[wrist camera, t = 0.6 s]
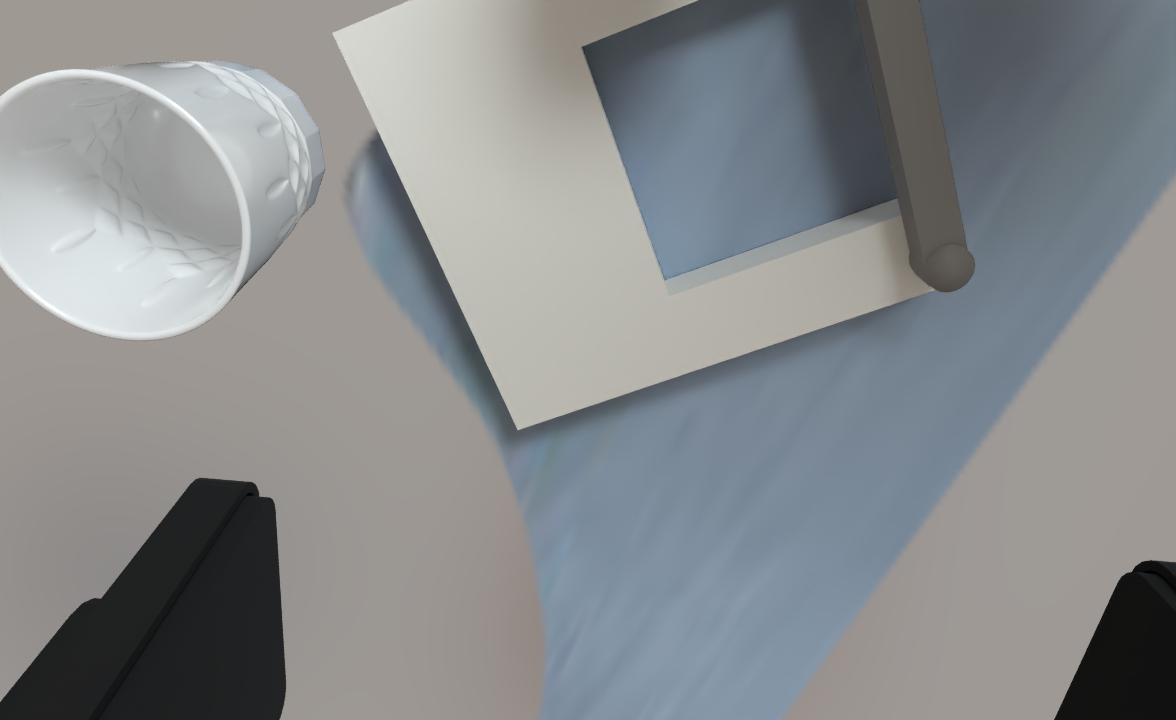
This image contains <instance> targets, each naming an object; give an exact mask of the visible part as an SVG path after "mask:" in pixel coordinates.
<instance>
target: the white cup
mask: <svg viewBox="0 0 1176 720" xmlns="http://www.w3.org/2000/svg"><path fill="white" fill-rule="evenodd" d="M324 171H325V163H324V158H323V151H322V144H321V138H320V132H319V128H318V127H317V125H316V124H315V122H314V121H313V119H312V117H311V116H310V114H309V113H308V111H307V110H306V108H305V106H304V105H303V103H302V102H301V100H300V98H299V97H298V95H297V94H296V93H295V92H293V91H292V90H290V89H289V88H288V87H286V86H285V85H283V84H282V83H280V82H279V81H278V80H276V79H275V78H274V77H272V76H270V75H269V74H268V73H266V72H265V71H264V70H262V69H260V68H255V67H250V66H245V65H240V64H235V63H230V62H225V61H210V62H196V61H195V62H194V61H175V62H153V63H152V62H151V63H139V64H128V65H118V66H106V67H94V68H83V69H69V70H59V71H53V72H48V73H44V74H41V75H38V76H34V77H32V78H29V79H27V80H25V81H23V82H21V83H19V84H17V85H15V86H14V87H12V88H11V89H9V90H8V91H6V92H5V93H4V94H3V95H1V96H0V267H1V269H2V270H3V271H4V272H5V274H6V275H7V276H8V277H9V278H10V279H11V281H12V282H14V284H15V285H16V286H17V287H18V288H19V289H20V290H21V291H22V292H24V293H25V294H26V295H27V296H28V297H29V298H30V299H32V300H33V301H34V302H35V303H37V304H38V305H39V306H41V307H42V308H44V309H45V310H47V311H48V312H49V313H51V314H53V315H54V316H56V317H58V318H59V319H61V320H63V321H65V322H67V323H69V324H71V325H73V326H75V327H78V328H80V329H83V330H86V331H88V332H91V333H94V334H98V335H101V336H105V337H109V338H115V339H121V340H130V341H150V340H160V339H166V338H171V337H174V336H178V335H181V334H184V333H186V332H189V331H191V330H194V329H196V328H197V327H199V326H201V325H203V324H204V323H206V322H207V321H209V320H210V319H212V318H213V317H214V316H215V315H216V314H217V313H219V312H220V311H221V310H222V309H223V308H224V307H225V306H226V305H227V303H228V302H229V301H230V300H231V299H232V298H233V297H234V296H235V295H236V294H237V292H239V290H240V289H241V288H242V287H243V286H244V285H245V284H246V283H247V282H248V280H250V278H252V276H253V275H254V274H255V273H256V272H257V271H258V270H259V269H260V268H261V267H262V266H263V265H264V264H265V263H266V262H267V261H268V260H269V259H270V257H271V256H272V255H273V254H274V252H275V251H276V250H277V249H278V247H279V246H280V245H281V244H282V243H283V242H284V240H285V239H286V238H287V237H288V236H289V234H290V233H291V232H292V230H293V229H294V227H295V225H296V224H297V222H298V221H299V219H300V217H301V216H302V215H303V214H304V213H305V212H306V211H307V210H308V209H309V208H310V207H311V206H312V205H313V204H314V202H315V199H316V196H317V193H318V189H319V186H320V184H321V180H322V177H323V174H324Z"/></svg>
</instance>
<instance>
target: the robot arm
mask: <svg viewBox="0 0 1176 720" xmlns="http://www.w3.org/2000/svg"><path fill="white" fill-rule="evenodd" d="M283 643H284V641H283V625H282V609H281V592H280V577H279V559H278V543H277V527H276V511H275V504H274V501H273V499H271V498H268V497H259V491H258V489H257V486H256V485H255V484H254V483H252V482H243V481H232V480H220V479H208V478H199V479H196V480H195V481H193V482H192V483H191V484H190V486H189V487H188V488H187V489H186V491H185V492H184V493H183V495H182V496H181V497H180V498H179V500H178V501H177V502H176V503H175V505H174V506H173V507H172V509H171V510H170V511H169V512H168V514H167V515H166V516H165V518H164V519H163V520H162V521H161V523H160V524H159V525H158V527H157V528H156V529H155V530H154V532H153V533H152V534H151V536H150V537H149V538H148V539H147V541H146V542H145V543H144V544H143V546H142V547H141V548H140V550H139V551H138V552H137V554H136V555H135V556H134V557H133V559H132V560H131V561H130V562H129V564H128V565H127V567H126V568H125V569H124V570H123V571H122V573H121V574H120V575H119V577H118V578H117V579H116V580H115V582H114V583H113V584H112V586H111V587H110V588H109V590H108V591H107V592H106V593H105V594H104V596H103V597H102V598H101V599H97V598H93V599H91V600H89V601H87V602H84V603H82V604H81V605H80V606H79V607H78V608H77V609H76V611H74V612H73V614H71V615H70V616H69V618H68V619H67V620H66V621H65V623H64V624H63V625H62V626H61V628H60V629H59V630H58V631H57V633H56V634H55V635H54V636H53V638H52V639H51V640H50V641H49V643H48V644H47V645H46V646H45V648H44V649H43V650H42V651H41V652H40V654H39V655H38V656H37V657H36V659H35V660H34V661H33V662H32V664H31V665H30V666H29V667H28V669H27V670H26V671H25V672H24V673H23V675H22V676H21V677H20V678H19V680H18V681H17V682H16V683H15V685H14V686H13V687H12V688H11V690H10V691H9V692H8V693H7V695H6V696H5V697H4V698H3V700H2V701H1V702H0V720H279V719H280V717H281V713H282V709H283V706H284V700H285V693H286V675H285V659H284V644H283ZM1054 720H1176V562H1164V561H1152V560H1150V561H1144V562H1141V563H1140V564H1138V565H1137V566H1135V568H1134V569H1133V571H1132V572H1130V573H1126V574H1125V575H1123V576H1122V577H1121V578H1120V580H1119V582H1118V583H1117V586H1116V587H1115V590H1114V592H1113V594H1112V596H1111V598H1110V600H1109V603H1108V605H1107V607H1106V609H1105V611H1104V613H1103V616H1102V618H1101V620H1100V622H1099V624H1098V626H1097V628H1096V631H1095V633H1094V635H1093V637H1092V639H1091V642H1090V644H1089V646H1088V648H1087V650H1086V652H1085V655H1084V657H1083V659H1082V661H1081V663H1080V665H1079V668H1078V670H1077V672H1076V674H1075V676H1074V678H1073V681H1072V682H1071V685H1070V687H1069V689H1068V691H1067V693H1066V695H1065V698H1064V700H1063V702H1062V704H1061V706H1060V708H1059V711H1058V713H1057V715H1056V717H1055V719H1054Z"/></svg>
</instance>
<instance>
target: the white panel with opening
mask: <svg viewBox="0 0 1176 720" xmlns="http://www.w3.org/2000/svg"><path fill="white" fill-rule="evenodd" d="M695 1H698V0H410V1H407V2H405V3H403V4H400V5H398V6H396V7H393V8H391V9H388V10H386V11H384V12H381V13H379V14H377V15H374V16H372V17H369V18H367V19H365V20H362V21H360V22H358V23H355V24H353V25H350V26H348V27H346V28H343V29H341V30H339V31H337V32H334V33H333V35H334V38H335V40H336V41H337V44H338V46H339V48H340V50H341V52H342V54H343V57H344V59H345V61H346V63H347V65H348V68H349V70H350V72H351V74H352V76H353V78H354V81H355V83H356V84H357V87H358V89H359V91H360V93H361V95H362V98H363V100H364V102H365V104H366V106H367V108H368V110H369V113H370V114H371V117H372V119H373V121H374V123H375V125H376V128H377V130H378V132H379V134H380V136H381V138H382V140H383V143H384V145H385V147H386V149H387V151H388V153H389V155H390V158H391V160H392V162H393V164H394V166H395V168H396V170H397V173H398V175H399V177H400V179H401V181H402V183H403V185H404V188H405V190H406V192H407V194H408V196H409V198H410V200H411V203H412V205H413V207H414V209H415V211H416V213H417V215H418V218H419V220H420V222H421V224H422V226H423V228H424V230H425V233H426V235H427V237H428V239H429V241H430V243H431V245H432V248H433V250H434V252H435V254H436V256H437V258H438V260H439V263H440V265H441V267H442V269H443V271H444V273H445V275H446V278H447V280H448V282H449V284H450V286H451V288H452V290H453V293H454V295H455V297H456V299H457V301H458V303H459V305H460V308H461V310H462V312H463V314H464V316H465V318H466V320H467V322H468V325H469V327H470V329H471V331H472V333H473V335H474V337H475V340H476V342H477V344H478V346H479V348H480V350H481V352H482V355H483V357H484V359H485V361H486V363H487V365H488V367H489V370H490V372H491V374H492V376H493V378H494V380H495V382H496V385H497V387H498V389H499V391H500V393H501V395H502V397H503V400H504V402H505V404H506V406H507V408H508V410H509V412H510V415H511V417H512V419H513V421H514V423H515V425H516V427H517V430H520V429H523V428H526V427H529V426H532V425H535V424H538V423H541V422H544V421H547V420H550V419H553V418H556V417H559V416H562V415H565V414H568V413H571V412H574V411H577V410H580V409H583V408H586V407H589V406H592V405H595V404H598V403H601V402H603V401H606V400H609V399H612V398H615V397H618V396H621V395H624V394H627V393H630V392H633V391H636V390H639V389H642V388H645V387H648V386H651V385H654V384H657V383H660V382H663V381H666V380H669V379H672V378H675V377H678V376H681V375H684V374H687V373H690V372H693V371H696V370H699V369H702V368H705V367H708V366H711V365H714V364H717V363H720V362H723V361H726V360H729V359H732V358H735V357H738V356H741V355H744V354H747V353H750V352H753V351H756V350H759V349H762V348H764V347H767V346H770V345H773V344H776V343H779V342H782V341H785V340H788V339H791V338H794V337H797V336H800V335H803V334H806V333H809V332H812V331H815V330H818V329H821V328H824V327H827V326H830V325H833V324H836V323H839V322H842V321H845V320H848V319H851V318H854V317H857V316H860V315H863V314H866V313H869V312H872V311H875V310H878V309H881V308H884V307H887V306H890V305H893V304H896V303H899V302H902V301H905V300H908V299H911V298H914V297H917V296H920V295H922V294H925V293H928V292H931V291H934V290H937V291H940V292H952V291H955V290H958V289H960V288H961V287H963V286H964V285H965V284H966V283H967V282H968V281H969V280H970V279H971V277H972V275H973V272H974V268H975V262H974V258H973V256H972V254H971V253H970V252H969V251H968V250H967V245H966V240H965V235H964V230H963V224H962V219H961V214H960V209H959V204H958V199H957V193H956V188H955V183H954V178H953V173H952V168H951V163H950V157H949V152H948V147H947V142H946V137H945V132H944V126H943V121H942V116H941V111H940V106H939V101H938V96H937V90H936V85H935V80H934V75H933V70H932V65H931V59H930V54H929V49H928V44H927V39H926V34H925V28H924V23H923V18H922V13H921V8H920V3H919V0H853V2H854V6H855V11H856V15H857V20H858V24H859V28H860V33H861V37H862V42H863V46H864V51H865V55H866V60H867V64H868V69H869V73H870V78H871V82H872V87H873V91H874V95H875V100H876V104H877V109H878V113H879V118H880V122H881V127H882V131H883V136H884V140H885V145H886V149H887V154H888V158H889V163H890V167H891V171H892V176H893V180H894V185H895V189H896V194H897V198H896V199H894V200H891V201H888V202H885V203H882V204H879V205H877V206H874V207H871V208H868V209H865V210H862V211H860V212H857V213H854V214H851V215H848V216H845V217H843V218H840V219H837V220H834V221H831V222H828V223H826V224H823V225H820V226H817V227H814V228H811V229H809V230H806V231H803V232H800V233H797V234H794V235H792V236H789V237H786V238H783V239H780V240H777V241H775V242H772V243H769V244H766V245H763V246H760V247H758V248H755V249H752V250H749V251H746V252H743V253H741V254H738V255H735V256H732V257H729V258H726V259H724V260H721V261H718V262H715V263H712V264H709V265H707V266H704V267H701V268H698V269H695V270H692V271H690V272H687V273H684V274H681V275H678V276H675V277H673V278H670V279H667V280H664V277H663V274H662V271H661V269H660V266H659V263H658V260H657V257H656V254H655V252H654V249H653V246H652V243H651V240H650V237H649V235H648V232H647V229H646V226H645V223H644V221H643V218H642V215H641V212H640V209H639V206H638V204H637V201H636V198H635V195H634V192H633V189H632V187H631V184H630V181H629V178H628V175H627V173H626V170H625V167H624V164H623V161H622V158H621V156H620V153H619V150H618V147H617V144H616V141H615V139H614V136H613V133H612V130H611V127H610V125H609V122H608V119H607V116H606V113H605V110H604V108H603V105H602V102H601V99H600V96H599V94H598V91H597V88H596V85H595V82H594V79H593V77H592V74H591V71H590V68H589V65H588V62H587V60H586V57H585V54H584V51H583V48H582V47H583V46H585V45H588V44H590V43H593V42H595V41H598V40H600V39H603V38H605V37H608V36H610V35H613V34H615V33H618V32H620V31H623V30H625V29H628V28H630V27H633V26H635V25H638V24H640V23H643V22H645V21H648V20H650V19H653V18H655V17H658V16H660V15H663V14H665V13H668V12H670V11H673V10H675V9H678V8H680V7H683V6H685V5H688V4H690V3H693V2H695Z"/></svg>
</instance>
